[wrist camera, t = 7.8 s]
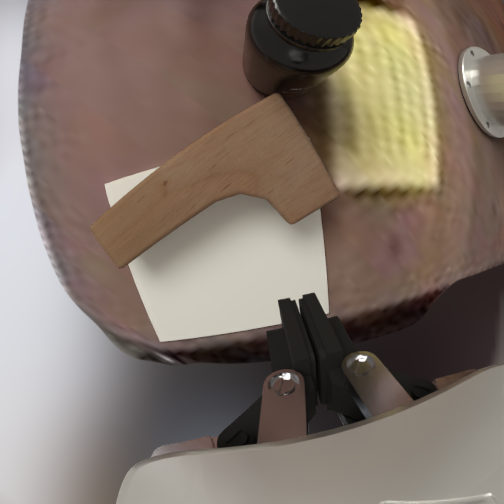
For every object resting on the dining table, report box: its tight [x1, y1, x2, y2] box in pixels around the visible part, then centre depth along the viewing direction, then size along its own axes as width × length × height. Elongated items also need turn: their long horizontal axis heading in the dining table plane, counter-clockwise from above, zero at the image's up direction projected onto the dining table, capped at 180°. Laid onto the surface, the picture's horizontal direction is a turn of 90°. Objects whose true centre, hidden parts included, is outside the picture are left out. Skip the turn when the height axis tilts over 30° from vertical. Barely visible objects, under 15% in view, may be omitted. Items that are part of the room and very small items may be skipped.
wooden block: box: [90, 93, 339, 269], centre depth 21 cm, size 9×4×18 cm
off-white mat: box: [105, 137, 329, 342], centre depth 25 cm, size 19×18×1 cm
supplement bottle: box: [243, 0, 362, 99], centre depth 14 cm, size 7×7×12 cm
